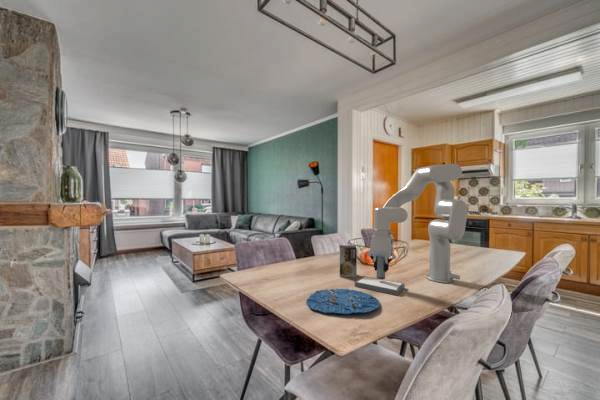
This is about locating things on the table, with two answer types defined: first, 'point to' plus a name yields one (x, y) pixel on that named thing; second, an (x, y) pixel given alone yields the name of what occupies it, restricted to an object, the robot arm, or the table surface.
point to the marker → (380, 267)
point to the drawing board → (380, 285)
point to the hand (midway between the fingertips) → (381, 270)
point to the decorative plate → (342, 301)
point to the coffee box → (347, 261)
